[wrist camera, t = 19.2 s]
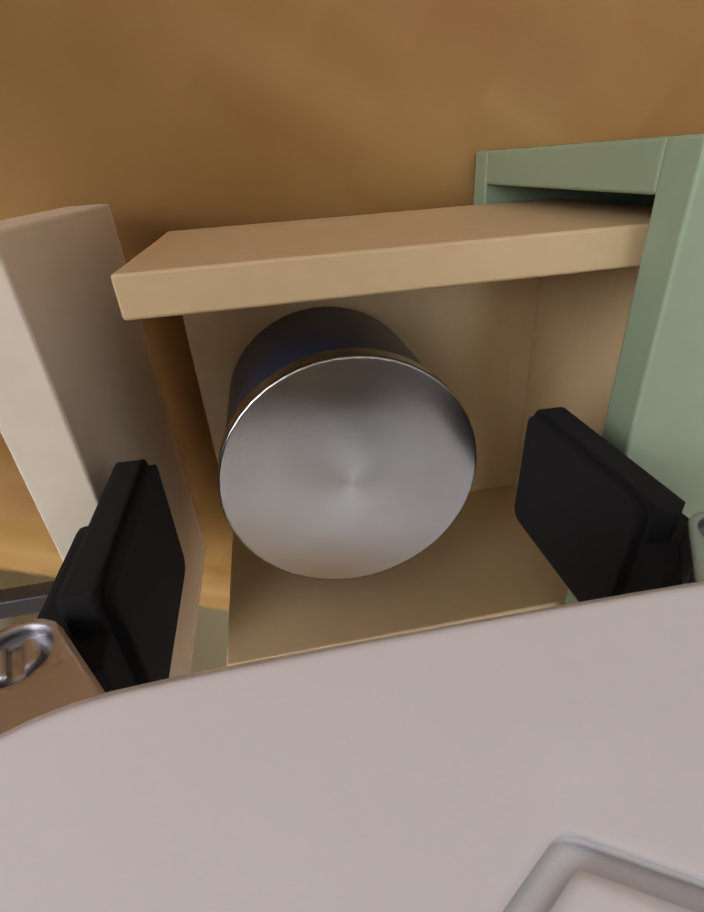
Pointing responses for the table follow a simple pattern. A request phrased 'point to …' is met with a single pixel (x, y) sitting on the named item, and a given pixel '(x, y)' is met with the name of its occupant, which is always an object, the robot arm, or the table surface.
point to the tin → (340, 447)
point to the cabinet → (638, 287)
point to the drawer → (267, 300)
